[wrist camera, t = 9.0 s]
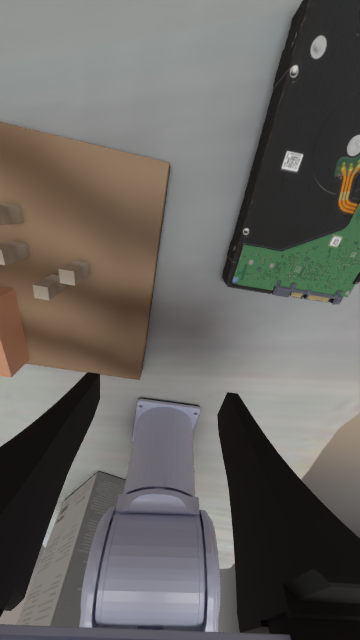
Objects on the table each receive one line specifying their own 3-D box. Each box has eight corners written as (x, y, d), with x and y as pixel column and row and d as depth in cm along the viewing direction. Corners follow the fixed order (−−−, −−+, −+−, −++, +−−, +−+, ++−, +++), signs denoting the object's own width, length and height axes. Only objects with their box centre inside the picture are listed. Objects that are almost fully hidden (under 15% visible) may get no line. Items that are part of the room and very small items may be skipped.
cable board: (142, 370, 23) (135, 399, 20) (-48, 341, 21) (-93, 368, 18) (170, 166, 14) (166, 154, 10) (-159, 87, 12) (-295, 40, 9)
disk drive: (284, 21, 11) (219, 278, 18) (313, -31, 9) (225, 289, 16) (453, 62, 12) (327, 295, 19) (523, 24, 10) (349, 308, 17)
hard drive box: (98, 510, 43) (41, 719, 25) (63, 500, 40) (-26, 722, 23) (137, 482, 37) (97, 733, 19) (98, 469, 34) (13, 739, 17)
